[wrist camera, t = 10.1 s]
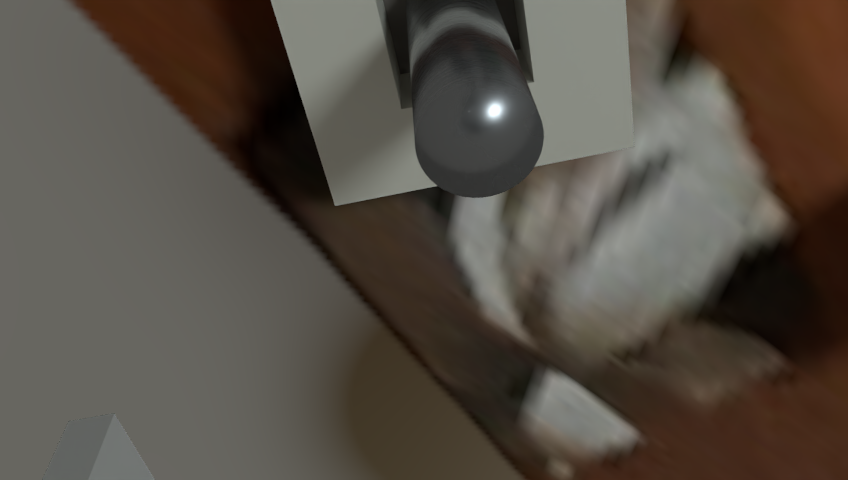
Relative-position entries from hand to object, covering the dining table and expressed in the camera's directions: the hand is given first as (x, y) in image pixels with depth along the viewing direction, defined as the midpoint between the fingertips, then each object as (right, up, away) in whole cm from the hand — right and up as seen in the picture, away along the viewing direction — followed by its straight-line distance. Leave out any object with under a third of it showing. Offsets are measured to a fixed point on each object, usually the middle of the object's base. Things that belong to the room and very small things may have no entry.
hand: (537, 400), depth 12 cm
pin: (-1, +12, +18) cm, 22 cm away
